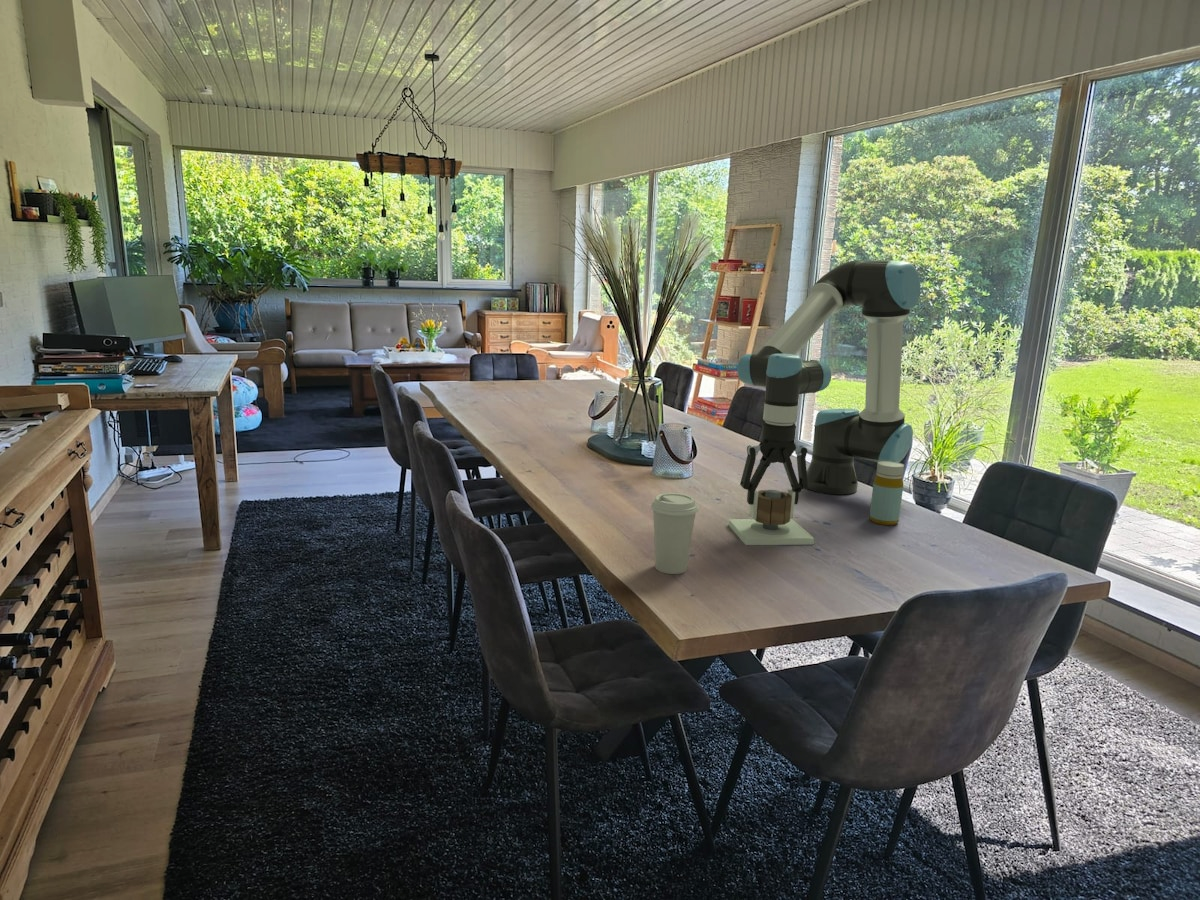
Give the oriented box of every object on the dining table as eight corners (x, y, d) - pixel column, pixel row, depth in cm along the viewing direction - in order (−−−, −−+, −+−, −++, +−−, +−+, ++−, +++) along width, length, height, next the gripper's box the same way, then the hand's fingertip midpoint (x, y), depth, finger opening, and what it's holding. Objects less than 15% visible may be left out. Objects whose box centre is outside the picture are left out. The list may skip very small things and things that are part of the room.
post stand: (791, 524, 189) (795, 483, 187) (813, 544, 176) (818, 500, 173) (728, 525, 187) (731, 483, 185) (745, 545, 174) (749, 500, 171)
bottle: (897, 519, 196) (905, 462, 193) (898, 527, 190) (906, 468, 187) (869, 515, 199) (875, 459, 195) (869, 523, 192) (875, 465, 189)
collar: (781, 514, 185) (783, 490, 184) (793, 524, 177) (795, 499, 176) (749, 514, 184) (751, 490, 183) (760, 525, 176) (761, 499, 175)
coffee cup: (644, 559, 163) (648, 491, 159) (689, 559, 164) (693, 491, 160) (651, 577, 154) (655, 505, 150) (698, 577, 154) (703, 505, 151)
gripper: (817, 419, 180) (807, 512, 185) (730, 418, 178) (723, 512, 183) (830, 425, 173) (820, 522, 178) (739, 425, 170) (732, 522, 176)
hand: (771, 517), depth 181 cm, fingers open, 8 cm apart
